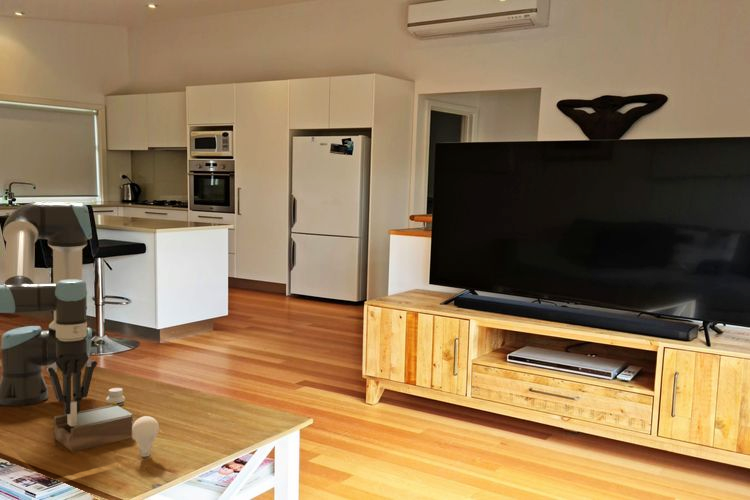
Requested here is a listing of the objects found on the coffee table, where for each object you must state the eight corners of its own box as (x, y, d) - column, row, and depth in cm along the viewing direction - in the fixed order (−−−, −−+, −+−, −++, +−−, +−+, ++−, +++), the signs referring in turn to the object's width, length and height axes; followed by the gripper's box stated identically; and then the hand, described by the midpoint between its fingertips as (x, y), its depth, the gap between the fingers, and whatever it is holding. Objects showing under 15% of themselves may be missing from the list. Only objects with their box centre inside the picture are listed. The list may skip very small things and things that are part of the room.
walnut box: (54, 441, 186) (54, 416, 186) (111, 428, 198) (111, 405, 197) (73, 455, 177) (72, 429, 177) (132, 441, 188) (131, 416, 188)
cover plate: (67, 422, 187) (67, 415, 187) (117, 412, 197) (117, 405, 197) (81, 432, 180) (81, 425, 180) (132, 421, 190) (132, 414, 190)
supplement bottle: (118, 425, 200) (118, 392, 200) (101, 423, 201) (101, 391, 201) (128, 419, 206) (128, 387, 205) (112, 417, 207) (112, 386, 206)
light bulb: (135, 453, 180) (135, 412, 179) (161, 452, 181) (161, 412, 180) (128, 463, 173) (128, 421, 173) (155, 462, 174) (155, 421, 173)
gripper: (50, 343, 174) (51, 434, 176) (101, 337, 183) (102, 423, 185) (40, 338, 179) (41, 426, 181) (90, 332, 188) (90, 416, 190)
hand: (72, 424), depth 183 cm, fingers closed
